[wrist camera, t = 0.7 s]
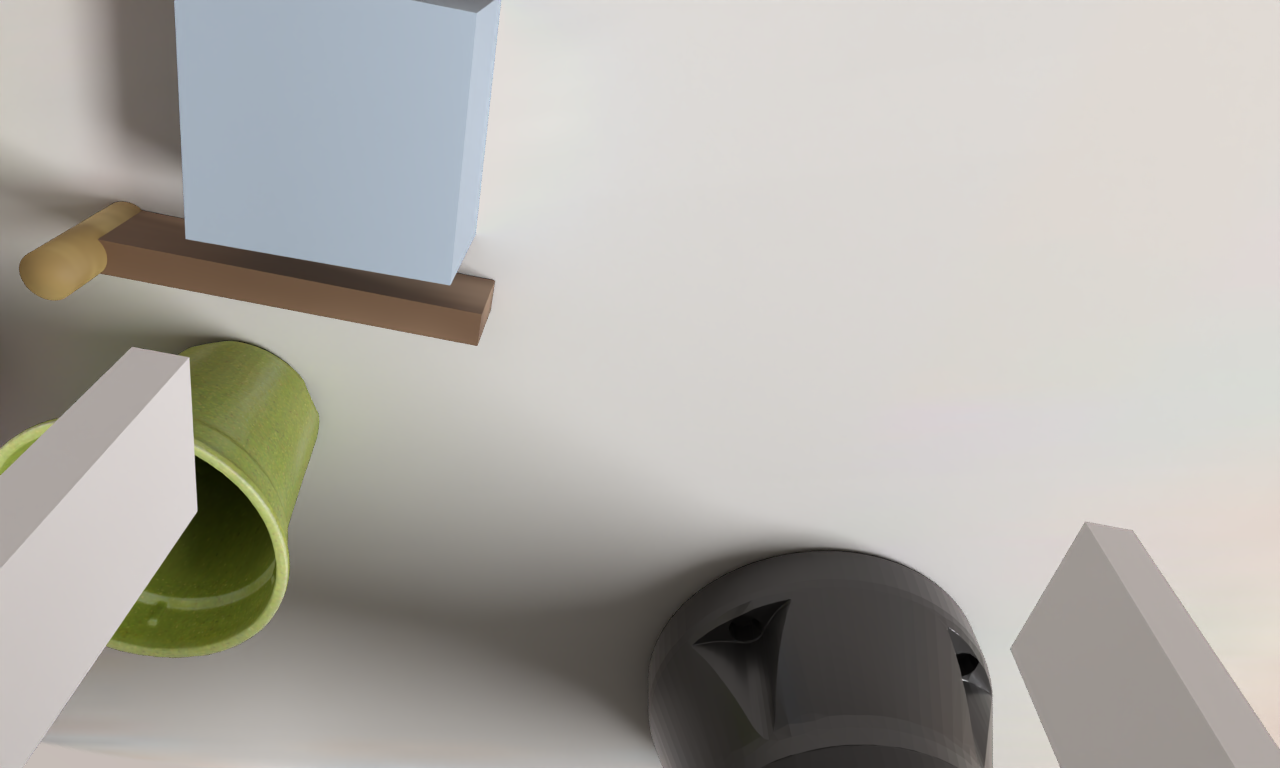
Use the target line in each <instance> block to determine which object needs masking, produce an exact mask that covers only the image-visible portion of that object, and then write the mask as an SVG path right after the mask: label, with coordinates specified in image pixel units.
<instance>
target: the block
mask: <svg viewBox="0 0 1280 768" xmlns="http://www.w3.org/2000/svg"><path fill="white" fill-rule="evenodd" d="M500 6H501V0H174V8H175V28H176V49H177V70H178V91H179V112H180V133H181V153H182V174H183V195H184V216H185V237H186V239H188V240H194V241H199V242H205V243H211V244H217V245H222V246H228V247H234V248H239V249H245V250H251V251H257V252H262V253H268V254H274V255H279V256H285V257H291V258H296V259H302V260H308V261H314V262H319V263H325V264H331V265H336V266H342V267H348V268H353V269H359V270H365V271H371V272H376V273H382V274H388V275H393V276H399V277H405V278H410V279H416V280H422V281H428V282H433V283H439V284H445V285H451V283H452V281H453V279H454V277H455V275H456V273H457V271H458V269H459V267H460V265H461V263H462V261H463V259H464V257H465V255H466V253H467V251H468V249H469V247H470V245H471V243H472V241H473V239H474V237H475V235H476V227H477V218H478V209H479V199H480V190H481V181H482V172H483V162H484V153H485V144H486V135H487V126H488V116H489V107H490V98H491V89H492V79H493V70H494V61H495V52H496V43H497V33H498V24H499V15H500Z"/></svg>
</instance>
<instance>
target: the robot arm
mask: <svg viewBox="0 0 1280 768" xmlns="http://www.w3.org/2000/svg"><path fill="white" fill-rule="evenodd" d="M196 513H197V493H196V474H195V455H194V436H193V417H192V398H191V379H190V360H189V357H185V356H179V355H174V354H169V353H163V352H158V351H152V350H147V349H141V348H136V347H131V348H130V349H129V350H128V351H127V352H126V353H125V354H124V355H123V356H122V357H121V358H120V359H119V360H118V361H117V362H116V363H115V364H114V365H113V366H112V367H111V368H110V369H109V370H108V371H107V372H106V373H105V374H104V375H103V376H102V377H101V378H100V379H99V380H98V381H97V382H96V383H94V384H93V385H92V386H91V387H90V388H89V389H88V390H87V391H86V392H85V393H84V394H83V395H82V396H81V397H80V398H79V399H78V400H77V401H76V402H75V403H74V404H73V405H72V406H71V407H70V408H69V409H68V410H67V411H66V412H65V413H64V414H63V415H62V416H61V417H60V418H59V419H58V420H57V421H56V422H55V423H54V424H53V425H52V426H51V427H49V428H48V429H47V430H46V431H45V432H44V433H43V434H42V435H41V436H40V437H39V438H38V439H37V440H36V441H35V442H34V443H33V444H32V445H31V446H30V447H29V448H28V449H27V450H26V451H25V452H24V453H23V454H22V455H21V456H20V457H19V458H18V459H17V460H16V461H15V462H14V463H13V464H12V465H11V466H10V467H9V468H8V469H7V470H5V471H4V472H3V473H2V474H1V475H0V768H23V767H24V765H25V764H26V762H27V761H28V759H29V758H30V757H31V755H32V754H33V752H34V751H35V749H36V748H37V746H38V745H39V743H40V742H41V740H42V739H43V738H44V736H45V735H46V733H47V732H48V730H49V729H50V727H51V726H52V724H53V723H54V721H55V720H56V718H57V717H58V715H59V714H60V713H61V711H62V710H63V708H64V707H65V705H66V704H67V702H68V701H69V699H70V698H71V696H72V695H73V693H74V692H75V690H76V689H77V688H78V686H79V685H80V683H81V682H82V680H83V679H84V677H85V676H86V674H87V673H88V671H89V670H90V668H91V667H92V666H93V664H94V663H95V661H96V660H97V658H98V657H99V655H100V654H101V652H102V651H103V649H104V648H105V646H106V645H107V643H108V642H109V641H110V639H111V638H112V636H113V635H114V633H115V632H116V630H117V629H118V627H119V626H120V624H121V623H122V621H123V620H124V619H125V617H126V616H127V614H128V613H129V611H130V610H131V608H132V607H133V605H134V604H135V602H136V601H137V599H138V598H139V596H140V595H141V594H142V592H143V591H144V589H145V588H146V586H147V585H148V583H149V582H150V580H151V579H152V577H153V576H154V574H155V573H156V571H157V570H158V569H159V567H160V566H161V564H162V563H163V561H164V560H165V558H166V557H167V555H168V554H169V552H170V551H171V549H172V548H173V547H174V545H175V544H176V542H177V541H178V539H179V538H180V536H181V535H182V533H183V532H184V530H185V529H186V527H187V526H188V524H189V523H190V522H191V520H192V519H193V517H194V516H195V514H196ZM1010 650H1011V652H1012V654H1013V657H1014V659H1015V662H1016V664H1017V666H1018V669H1019V671H1020V673H1021V676H1022V678H1023V680H1024V683H1025V685H1026V688H1027V690H1028V692H1029V695H1030V697H1031V699H1032V702H1033V704H1034V706H1035V709H1036V711H1037V713H1038V716H1039V718H1040V721H1041V723H1042V725H1043V728H1044V730H1045V732H1046V735H1047V737H1048V739H1049V742H1050V744H1051V747H1052V749H1053V751H1054V754H1055V756H1056V758H1057V761H1058V763H1059V765H1060V768H1280V749H1279V748H1278V746H1277V745H1276V743H1275V742H1274V740H1273V739H1272V737H1271V736H1270V734H1269V733H1268V731H1267V730H1266V728H1265V727H1264V725H1263V724H1262V722H1261V721H1260V719H1259V718H1258V716H1257V715H1256V713H1255V712H1254V710H1253V709H1252V707H1251V706H1250V704H1249V703H1248V701H1247V700H1246V698H1245V697H1244V695H1243V694H1242V693H1241V691H1240V690H1239V688H1238V687H1237V685H1236V684H1235V682H1234V681H1233V679H1232V678H1231V676H1230V675H1229V673H1228V672H1227V670H1226V669H1225V667H1224V666H1223V664H1222V663H1221V661H1220V660H1219V658H1218V657H1217V655H1216V654H1215V652H1214V651H1213V649H1212V648H1211V646H1210V645H1209V643H1208V642H1207V640H1206V639H1205V637H1204V636H1203V634H1202V633H1201V631H1200V630H1199V628H1198V627H1197V625H1196V624H1195V622H1194V621H1193V619H1192V618H1191V616H1190V615H1189V613H1188V612H1187V610H1186V609H1185V607H1184V606H1183V604H1182V603H1181V601H1180V600H1179V598H1178V597H1177V596H1176V594H1175V593H1174V591H1173V590H1172V588H1171V587H1170V585H1169V584H1168V582H1167V581H1166V579H1165V578H1164V576H1163V575H1162V573H1161V572H1160V570H1159V569H1158V567H1157V566H1156V564H1155V563H1154V561H1153V560H1152V558H1151V557H1150V555H1149V554H1148V552H1147V551H1146V549H1145V548H1144V546H1143V545H1142V543H1141V542H1140V540H1139V539H1138V537H1137V536H1136V534H1135V533H1134V531H1133V530H1128V529H1122V528H1117V527H1111V526H1106V525H1100V524H1095V523H1090V522H1085V523H1084V525H1083V526H1082V528H1081V530H1080V531H1079V533H1078V535H1077V536H1076V538H1075V540H1074V542H1073V543H1072V545H1071V547H1070V548H1069V550H1068V552H1067V553H1066V555H1065V557H1064V558H1063V560H1062V562H1061V564H1060V565H1059V567H1058V569H1057V570H1056V572H1055V574H1054V575H1053V577H1052V579H1051V580H1050V582H1049V584H1048V586H1047V587H1046V589H1045V591H1044V592H1043V594H1042V596H1041V597H1040V599H1039V601H1038V603H1037V604H1036V606H1035V608H1034V609H1033V611H1032V613H1031V614H1030V616H1029V618H1028V619H1027V621H1026V623H1025V625H1024V626H1023V628H1022V630H1021V631H1020V633H1019V635H1018V636H1017V638H1016V640H1015V641H1014V643H1013V645H1012V647H1011V648H1010ZM648 715H649V724H650V730H651V735H652V739H653V743H654V746H655V749H656V751H657V754H658V756H659V759H660V761H661V764H662V766H663V768H993V698H992V686H991V679H990V675H989V671H988V667H987V664H986V661H985V658H984V656H983V654H982V651H981V649H980V647H979V644H978V642H977V640H976V637H975V635H974V633H973V630H972V628H971V626H970V624H969V622H968V620H967V618H966V616H965V615H964V613H963V611H962V610H961V609H960V607H959V606H958V605H957V603H956V602H955V601H954V600H953V599H952V598H951V597H950V596H949V595H948V594H947V593H946V592H945V591H944V590H943V589H942V588H940V587H939V586H938V585H937V584H935V583H934V582H932V581H931V580H929V579H928V578H926V577H925V576H923V575H921V574H920V573H918V572H916V571H914V570H912V569H910V568H907V567H905V566H903V565H901V564H898V563H895V562H892V561H889V560H886V559H882V558H879V557H874V556H870V555H865V554H858V553H852V552H840V551H813V552H801V553H794V554H787V555H782V556H777V557H772V558H769V559H765V560H761V561H758V562H755V563H752V564H749V565H746V566H744V567H742V568H739V569H737V570H734V571H732V572H730V573H728V574H726V575H724V576H722V577H720V578H719V579H717V580H715V581H713V582H712V583H710V584H709V585H707V586H706V587H704V588H703V589H701V590H700V591H699V592H697V593H696V594H695V595H694V596H692V597H691V598H690V599H689V600H688V601H687V602H686V603H685V604H684V605H683V606H682V607H681V608H680V609H679V610H678V611H677V612H676V613H675V614H674V615H673V617H672V618H671V619H670V620H669V622H668V623H667V625H666V626H665V628H664V629H663V631H662V633H661V635H660V636H659V638H658V641H657V643H656V645H655V648H654V650H653V653H652V657H651V661H650V666H649V674H648Z"/></svg>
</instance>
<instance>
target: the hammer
mask: <svg viewBox="0 0 1280 768" xmlns="http://www.w3.org/2000/svg"><path fill="white" fill-rule="evenodd" d="M19 272H20V276H21V279H22V281H23V282H24V284H25V285H26V287H27V288H28V289H29V290H30V291H32V292H33V293H34V294H36V295H37V296H39V297H41V298H44V299H47V300H61V299H64V298H66V297H67V296H69V295H70V294H72V293H73V292H74V291H76V290H77V289H79V288H80V287H81V286H83V285H84V284H86V283H87V282H89V281H90V280H91V279H93V278H94V277H96V276H97V275H98V274H105V275H111V276H116V277H121V278H126V279H131V280H137V281H142V282H147V283H152V284H157V285H163V286H168V287H173V288H178V289H183V290H189V291H194V292H199V293H204V294H210V295H215V296H220V297H225V298H230V299H236V300H241V301H246V302H251V303H256V304H262V305H267V306H272V307H277V308H282V309H288V310H293V311H298V312H303V313H309V314H314V315H319V316H324V317H329V318H335V319H340V320H345V321H350V322H355V323H361V324H366V325H371V326H376V327H381V328H387V329H392V330H397V331H402V332H407V333H413V334H418V335H423V336H428V337H434V338H439V339H444V340H449V341H454V342H460V343H465V344H470V345H475V346H477V345H478V343H479V340H480V337H481V335H482V332H483V329H484V327H485V324H486V321H487V319H488V316H489V313H490V311H491V304H492V298H493V291H494V284H495V281H494V280H489V279H484V278H479V277H474V276H469V275H464V274H459V273H456V275H455V277H454V279H453V281H452V283H451V285H445V284H439V283H433V282H428V281H422V280H416V279H410V278H405V277H399V276H393V275H388V274H382V273H376V272H371V271H365V270H359V269H353V268H348V267H342V266H336V265H331V264H325V263H319V262H314V261H308V260H302V259H296V258H291V257H285V256H279V255H274V254H268V253H262V252H257V251H251V250H245V249H239V248H234V247H228V246H222V245H217V244H211V243H205V242H199V241H194V240H188V239H186V237H185V219H182V218H177V217H172V216H167V215H162V214H157V213H152V212H147V211H142V210H141V209H140V208H139V207H137V206H136V205H134V204H132V203H128V202H115V203H113V204H111V205H109V206H108V207H106V208H104V209H103V210H101V211H99V212H98V213H96V214H94V215H93V216H91V217H89V218H88V219H86V220H84V221H82V222H81V223H79V224H77V225H76V226H74V227H72V228H71V229H69V230H67V231H66V232H64V233H62V234H61V235H59V236H57V237H55V238H54V239H52V240H50V241H49V242H47V243H45V244H44V245H42V246H40V247H39V248H37V249H35V250H34V251H32V252H30V253H28V254H27V255H25V256H24V257H23V258H22V260H21V262H20V265H19Z"/></svg>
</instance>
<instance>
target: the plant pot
mask: <svg viewBox="0 0 1280 768" xmlns="http://www.w3.org/2000/svg"><path fill="white" fill-rule="evenodd" d="M178 355H179V356H185V357H189V360H190V379H191V398H192V417H193V436H194V455H195V474H196V493H197V513H196V514H195V516H194V517H193V519H192V520H191V522H190V523H189V524H188V526H187V527H186V529H185V530H184V532H183V533H182V535H181V536H180V538H179V539H178V541H177V542H176V544H175V545H174V547H173V548H172V549H171V551H170V552H169V554H168V555H167V557H166V558H165V560H164V561H163V563H162V564H161V566H160V567H159V569H158V570H157V571H156V573H155V574H154V576H153V577H152V579H151V580H150V582H149V583H148V585H147V586H146V588H145V589H144V591H143V592H142V594H141V595H140V596H139V598H138V599H137V601H136V602H135V604H134V605H133V607H132V608H131V610H130V611H129V613H128V614H127V616H126V617H125V619H124V620H123V621H122V623H121V624H120V626H119V627H118V629H117V630H116V632H115V633H114V635H113V636H112V638H111V639H110V641H109V642H108V643H107V645H106V646H107V647H109V648H113V649H116V650H119V651H124V652H128V653H133V654H138V655H143V656H144V655H149V656H155V657H169V658H181V657H191V656H204V655H210V654H213V653H217V652H221V651H224V650H227V649H229V648H232V647H235V646H237V645H239V644H241V643H242V642H244V641H246V640H248V639H249V638H251V637H253V636H254V635H255V634H257V633H258V632H259V631H261V630H262V629H263V628H264V627H265V626H266V625H267V624H268V622H269V621H270V620H271V619H272V617H273V616H274V614H275V613H276V612H277V610H278V608H279V606H280V604H281V602H282V600H283V597H284V595H285V592H286V589H287V585H288V580H289V570H290V565H289V551H288V546H287V543H288V529H287V528H288V525H289V522H290V518H291V515H292V512H293V509H294V506H295V502H296V499H297V496H298V493H299V490H300V487H301V483H302V480H303V477H304V474H305V471H306V469H307V466H308V463H309V460H310V457H311V454H312V451H313V448H314V445H315V442H316V439H317V434H318V429H319V415H318V412H317V410H316V408H315V406H314V404H313V402H312V400H311V397H310V395H309V393H308V390H307V388H306V385H305V383H304V381H303V379H302V378H301V377H300V375H299V374H298V373H297V372H296V371H295V370H294V369H293V368H292V367H290V366H289V365H288V364H287V363H286V362H284V361H283V360H281V359H280V358H278V357H277V356H275V355H273V354H271V353H270V352H268V351H266V350H263V349H261V348H259V347H256V346H253V345H250V344H246V343H242V342H235V341H222V342H216V343H208V344H203V345H199V346H195V347H191V348H188V349H186V350H185V351H183V352H181V353H180V354H178ZM58 419H59V418H57V419H52V420H48V421H46V422H43V423H40V424H37V425H35V426H33V427H31V428H28V429H26V430H25V431H23V432H21V433H20V434H18V435H16V436H15V437H14V438H12V439H11V440H9V441H8V442H7V443H6V444H4V445H3V446H2V447H1V448H0V475H1V474H2V473H3V472H4V471H5V470H7V469H8V468H9V467H10V466H11V465H12V464H13V463H14V462H15V461H16V460H17V459H18V458H19V457H20V456H21V455H22V454H23V453H24V452H25V451H26V450H27V449H28V448H29V447H30V446H31V445H32V444H33V443H34V442H35V441H36V440H37V439H38V438H39V437H40V436H41V435H42V434H43V433H44V432H45V431H46V430H47V429H48V428H49V427H51V426H52V425H53V424H54V423H55V422H56V421H57V420H58Z"/></svg>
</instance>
